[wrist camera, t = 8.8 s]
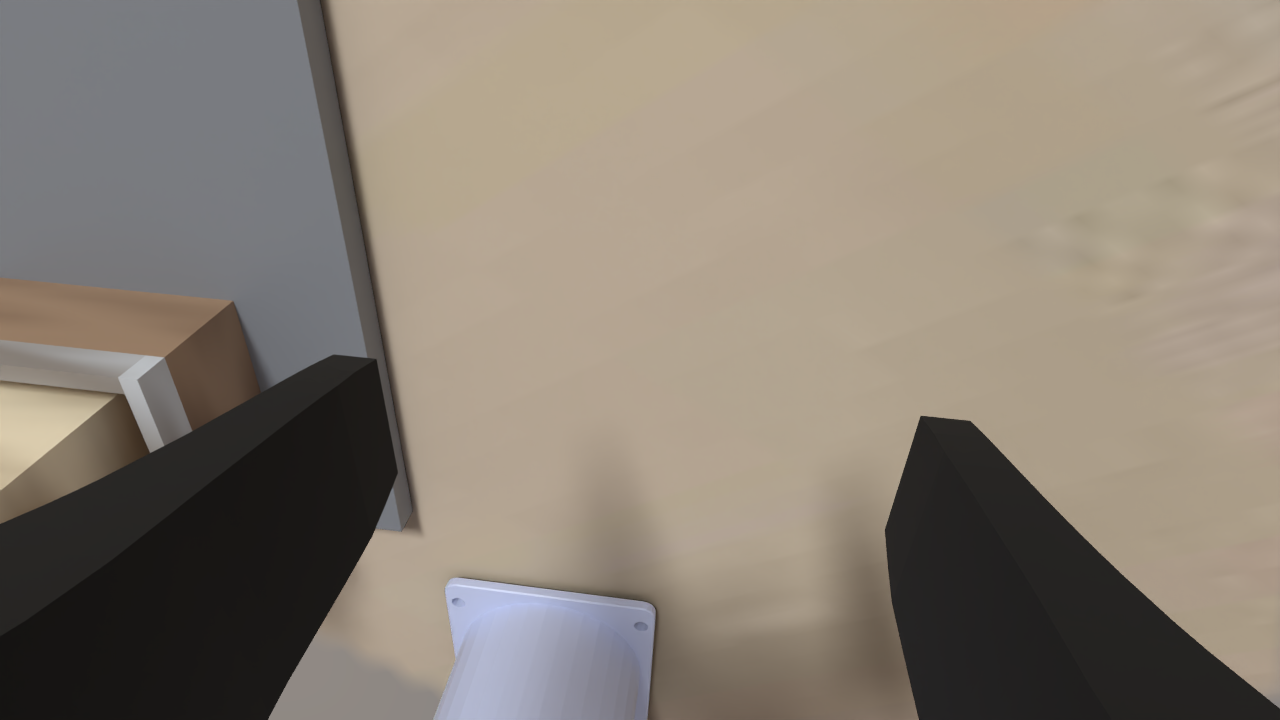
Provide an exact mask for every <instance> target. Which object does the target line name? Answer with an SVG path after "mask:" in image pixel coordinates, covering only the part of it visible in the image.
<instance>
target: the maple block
mask: <svg viewBox="0 0 1280 720" xmlns="http://www.w3.org/2000/svg"><path fill="white" fill-rule="evenodd" d="M149 453H150V452H149V449H148V447H147V445H146V443H145V440H144V438H143V436H142V434H141V431H140V429H139V427H138V424H137V422H136V420H135V418H134V415H133V413H132V411H131V409H130V406H129V404H128V402H127V400H126V397H125V395H124V394H118V393H109V392H100V391H91V390H82V389H73V388H65V387H56V386H47V385H38V384H29V383H20V382H11V381H2V380H0V524H1V523H4V522H6V521H8V520H10V519H13V518H15V517H17V516H20V515H22V514H24V513H27V512H29V511H31V510H34V509H36V508H38V507H41V506H43V505H45V504H47V503H50V502H52V501H54V500H56V499H58V498H61V497H63V496H65V495H67V494H69V493H71V492H74V491H76V490H78V489H80V488H82V487H84V486H86V485H88V484H90V483H92V482H95V481H97V480H99V479H101V478H103V477H105V476H107V475H109V474H110V473H112V472H114V471H116V470H118V469H120V468H122V467H124V466H126V465H128V464H130V463H132V462H134V461H136V460H138V459H140V458H142V457H144V456H145V455H147V454H149Z"/></svg>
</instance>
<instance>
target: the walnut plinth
mask: <svg viewBox="0 0 1280 720" xmlns="http://www.w3.org/2000/svg"><path fill="white" fill-rule="evenodd" d="M0 380H2V381H11V382H20V383H29V384H38V385H47V386H56V387H65V388H73V389H82V390H91V391H100V392H109V393H118V394H124V395H125V397H126V400H127V402H128V404H129V406H130V409H131V411H132V413H133V415H134V418H135V420H136V422H137V424H138V427H139V429H140V431H141V434H142V436H143V438H144V440H145V443H146V445H147V447H148V449H149V452H150V453H151V452H153V451H155V450H157V449H159V448H161V447H163V446H165V445H167V444H169V443H171V442H173V441H175V440H177V439H179V438H180V437H182V436H184V435H186V434H188V433H190V432H192V431H193V430H195V429H197V428H199V427H201V426H202V425H204V424H206V423H208V422H210V421H211V420H213V419H215V418H217V417H219V416H220V415H222V414H224V413H226V412H228V411H229V410H231V409H233V408H235V407H237V406H238V405H240V404H242V403H244V402H246V401H247V400H249V399H251V398H253V397H254V396H256V395H258V394H260V393H261V391H260V388H259V385H258V381H257V378H256V375H255V371H254V368H253V365H252V361H251V358H250V355H249V351H248V348H247V345H246V342H245V338H244V335H243V332H242V328H241V325H240V322H239V318H238V315H237V312H236V308H235V305H234V302H233V301H230V300H220V299H210V298H200V297H190V296H180V295H170V294H160V293H150V292H140V291H130V290H120V289H110V288H100V287H90V286H80V285H70V284H60V283H50V282H40V281H30V280H19V279H9V278H0Z"/></svg>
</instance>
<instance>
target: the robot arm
mask: <svg viewBox="0 0 1280 720" xmlns="http://www.w3.org/2000/svg"><path fill="white" fill-rule="evenodd" d="M397 474H398V469H397V464H396V459H395V454H394V448H393V443H392V438H391V432H390V427H389V422H388V417H387V411H386V406H385V401H384V395H383V390H382V385H381V380H380V374H379V369H378V364H377V359H373V358H364V357H354V356H345V355H335V354H333V355H331V356H329V357H327V358H325V359H323V360H321V361H318V362H317V363H315V364H313V365H311V366H309V367H307V368H305V369H303V370H301V371H299V372H297V373H296V374H294V375H292V376H290V377H288V378H286V379H285V380H283V381H281V382H279V383H278V384H276V385H274V386H272V387H270V388H269V389H267V390H265V391H263V392H262V393H260V394H258V395H256V396H254V397H253V398H251V399H249V400H247V401H246V402H244V403H242V404H240V405H238V406H237V407H235V408H233V409H231V410H229V411H228V412H226V413H224V414H222V415H220V416H219V417H217V418H215V419H213V420H211V421H210V422H208V423H206V424H204V425H202V426H201V427H199V428H197V429H195V430H193V431H192V432H190V433H188V434H186V435H184V436H182V437H180V438H179V439H177V440H175V441H173V442H171V443H169V444H167V445H165V446H163V447H161V448H159V449H157V450H155V451H153V452H151V453H149V454H147V455H145V456H144V457H142V458H140V459H138V460H136V461H134V462H132V463H130V464H128V465H126V466H124V467H122V468H120V469H118V470H116V471H114V472H112V473H110V474H109V475H107V476H105V477H103V478H101V479H99V480H97V481H95V482H92V483H90V484H88V485H86V486H84V487H82V488H80V489H78V490H76V491H74V492H71V493H69V494H67V495H65V496H63V497H61V498H58V499H56V500H54V501H52V502H50V503H47V504H45V505H43V506H41V507H38V508H36V509H34V510H31V511H29V512H27V513H24V514H22V515H20V516H17V517H15V518H13V519H10V520H8V521H6V522H4V523H1V524H0V720H268V718H269V716H270V714H271V712H272V711H273V709H274V707H275V705H276V703H277V701H278V699H279V697H280V696H281V694H282V692H283V690H284V688H285V686H286V684H287V682H288V680H289V679H290V677H291V676H292V673H293V672H294V670H295V669H296V667H297V665H298V663H299V662H300V660H301V658H302V657H303V655H304V653H305V652H306V650H307V648H308V646H309V645H310V643H311V641H312V640H313V638H314V636H315V635H316V633H317V631H318V629H319V628H320V626H321V624H322V623H323V621H324V619H325V617H326V616H327V614H328V612H329V611H330V609H331V607H332V605H333V604H334V602H335V600H336V599H337V597H338V595H339V594H340V592H341V590H342V588H343V587H344V585H345V583H346V581H347V580H348V578H349V576H350V574H351V573H352V571H353V569H354V568H355V566H356V564H357V562H358V561H359V559H360V557H361V555H362V554H363V552H364V550H365V548H366V546H367V545H368V543H369V541H370V539H371V537H372V535H373V533H374V531H375V528H376V526H377V524H378V521H379V519H380V517H381V514H382V512H383V510H384V507H385V505H386V502H387V500H388V497H389V495H390V492H391V490H392V487H393V485H394V482H395V479H396V477H397ZM885 537H886V548H887V560H888V571H889V580H890V589H891V598H892V604H893V609H894V613H895V618H896V623H897V627H898V631H899V636H900V640H901V645H902V649H903V653H904V658H905V662H906V666H907V671H908V675H909V679H910V683H911V688H912V692H913V696H914V700H915V705H916V709H917V713H918V717H919V720H1280V709H1279V708H1278V707H1277V706H1276V705H1274V704H1273V703H1272V702H1271V701H1270V700H1268V699H1267V698H1266V697H1265V696H1263V695H1262V694H1261V693H1260V692H1258V691H1257V690H1256V689H1255V688H1253V687H1252V686H1251V685H1250V684H1248V683H1247V682H1246V681H1245V680H1243V679H1242V678H1241V677H1240V676H1238V675H1237V674H1236V673H1235V672H1234V671H1232V670H1231V669H1230V668H1229V667H1227V666H1226V665H1225V664H1224V663H1222V662H1221V661H1220V660H1219V659H1217V658H1216V657H1215V656H1214V655H1212V654H1211V653H1210V652H1209V651H1207V650H1206V649H1205V648H1204V647H1203V646H1202V645H1200V644H1199V643H1198V642H1197V641H1196V640H1195V639H1193V638H1192V637H1191V636H1190V635H1189V634H1188V633H1186V632H1185V631H1184V630H1183V629H1182V628H1181V627H1179V626H1178V625H1177V624H1176V623H1175V622H1174V621H1172V620H1171V619H1170V618H1169V617H1168V616H1167V615H1166V614H1165V613H1164V612H1163V611H1161V610H1160V609H1159V608H1158V607H1157V606H1156V605H1155V604H1154V603H1153V602H1152V601H1150V600H1149V599H1148V598H1147V597H1146V596H1145V595H1144V594H1143V593H1142V592H1141V591H1139V590H1138V589H1137V588H1136V587H1135V586H1134V585H1133V584H1132V583H1131V582H1130V581H1128V580H1127V579H1126V578H1125V577H1124V576H1123V575H1122V574H1121V573H1120V572H1119V571H1118V570H1117V569H1116V568H1115V567H1114V566H1113V565H1111V564H1110V563H1109V562H1108V561H1107V560H1106V559H1105V558H1104V557H1103V556H1102V555H1101V554H1100V553H1099V552H1098V551H1097V550H1096V549H1095V548H1094V547H1093V546H1092V545H1091V544H1090V543H1089V542H1088V541H1087V540H1086V539H1085V538H1084V537H1083V536H1082V535H1081V534H1080V533H1079V532H1078V531H1077V530H1076V529H1075V528H1074V527H1073V526H1072V525H1071V524H1070V523H1069V522H1068V521H1067V520H1066V519H1065V518H1064V517H1063V516H1062V515H1061V514H1060V513H1059V512H1058V511H1057V510H1056V509H1055V508H1054V507H1053V506H1052V505H1051V504H1050V503H1049V502H1048V501H1047V500H1046V499H1045V498H1044V497H1043V496H1042V495H1041V494H1040V493H1039V492H1038V490H1037V489H1036V488H1035V487H1034V486H1033V485H1032V484H1031V483H1030V482H1029V481H1028V480H1027V479H1026V478H1025V477H1024V476H1023V475H1022V474H1021V473H1020V472H1019V471H1018V470H1017V468H1016V467H1015V466H1014V465H1013V464H1012V463H1011V462H1010V461H1009V460H1008V459H1007V458H1006V457H1005V456H1004V455H1003V454H1002V453H1001V452H1000V451H999V450H998V448H997V447H996V446H995V445H994V444H993V443H992V442H991V441H990V440H989V439H988V438H987V437H986V436H985V435H984V434H983V433H982V432H981V431H980V430H979V429H978V428H977V427H976V426H975V425H974V424H973V423H972V422H971V421H965V420H956V419H946V418H937V417H927V416H921V417H920V420H919V423H918V426H917V429H916V433H915V436H914V439H913V442H912V445H911V448H910V452H909V455H908V458H907V461H906V464H905V468H904V471H903V474H902V477H901V480H900V484H899V487H898V490H897V493H896V496H895V499H894V503H893V506H892V509H891V512H890V515H889V519H888V522H887V525H886V528H885ZM445 595H446V602H447V608H448V614H449V620H450V626H451V633H452V639H453V645H454V651H455V657H456V661H455V663H454V666H453V668H452V671H451V674H450V676H449V679H448V682H447V684H446V687H445V690H444V692H443V695H442V698H441V700H440V703H439V706H438V708H437V711H436V714H435V717H434V719H433V720H647V719H648V706H649V693H650V681H651V668H652V655H653V642H654V630H655V617H656V610H655V608H654V607H653V605H651V604H650V603H648V602H644V601H637V600H629V599H622V598H614V597H606V596H598V595H591V594H583V593H575V592H567V591H559V590H552V589H544V588H536V587H528V586H521V585H513V584H505V583H497V582H490V581H482V580H474V579H466V578H452V579H450V580H449V581H448V583H447V585H446V587H445Z"/></svg>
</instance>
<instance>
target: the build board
mask: <svg viewBox="0 0 1280 720" xmlns="http://www.w3.org/2000/svg"><path fill="white" fill-rule="evenodd" d="M0 278H9V279H19V280H30V281H40V282H50V283H60V284H70V285H80V286H90V287H100V288H110V289H120V290H130V291H140V292H150V293H160V294H170V295H180V296H190V297H200V298H210V299H220V300H230V301H233V302H234V305H235V308H236V312H237V315H238V318H239V322H240V325H241V328H242V332H243V335H244V338H245V342H246V345H247V348H248V351H249V355H250V358H251V361H252V365H253V368H254V371H255V375H256V378H257V381H258V385H259V388H260V391H261V393H262V392H263V391H265V390H267V389H269V388H270V387H272V386H274V385H276V384H278V383H279V382H281V381H283V380H285V379H286V378H288V377H290V376H292V375H294V374H296V373H297V372H299V371H301V370H303V369H305V368H307V367H309V366H311V365H313V364H315V363H317V362H318V361H321V360H323V359H325V358H327V357H329V356H331V355H333V354H335V355H345V356H354V357H364V358H373V359H377V364H378V369H379V374H380V380H381V385H382V390H383V395H384V401H385V406H386V411H387V417H388V422H389V427H390V432H391V438H392V443H393V448H394V454H395V459H396V464H397V469H398V474H397V477H396V479H395V482H394V485H393V487H392V490H391V492H390V495H389V497H388V500H387V502H386V505H385V507H384V510H383V512H382V514H381V517H380V519H379V521H378V524H377V526H376V528H377V529H385V530H393V531H401V532H402V530H403V528H404V526H405V525H406V523H407V521H408V519H409V517H410V515H411V513H412V511H413V510H412V505H411V499H410V494H409V488H408V483H407V477H406V472H405V466H404V461H403V455H402V450H401V444H400V439H399V433H398V428H397V422H396V417H395V411H394V406H393V400H392V395H391V389H390V383H389V378H388V372H387V367H386V361H385V356H384V350H383V345H382V339H381V334H380V328H379V323H378V317H377V312H376V306H375V301H374V295H373V290H372V284H371V279H370V273H369V268H368V262H367V257H366V251H365V246H364V240H363V235H362V229H361V224H360V218H359V213H358V207H357V202H356V196H355V191H354V185H353V180H352V174H351V169H350V163H349V158H348V152H347V147H346V141H345V136H344V130H343V125H342V119H341V114H340V108H339V103H338V97H337V92H336V86H335V81H334V75H333V70H332V64H331V59H330V53H329V48H328V42H327V37H326V31H325V26H324V20H323V15H322V9H321V4H320V0H0Z"/></svg>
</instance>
